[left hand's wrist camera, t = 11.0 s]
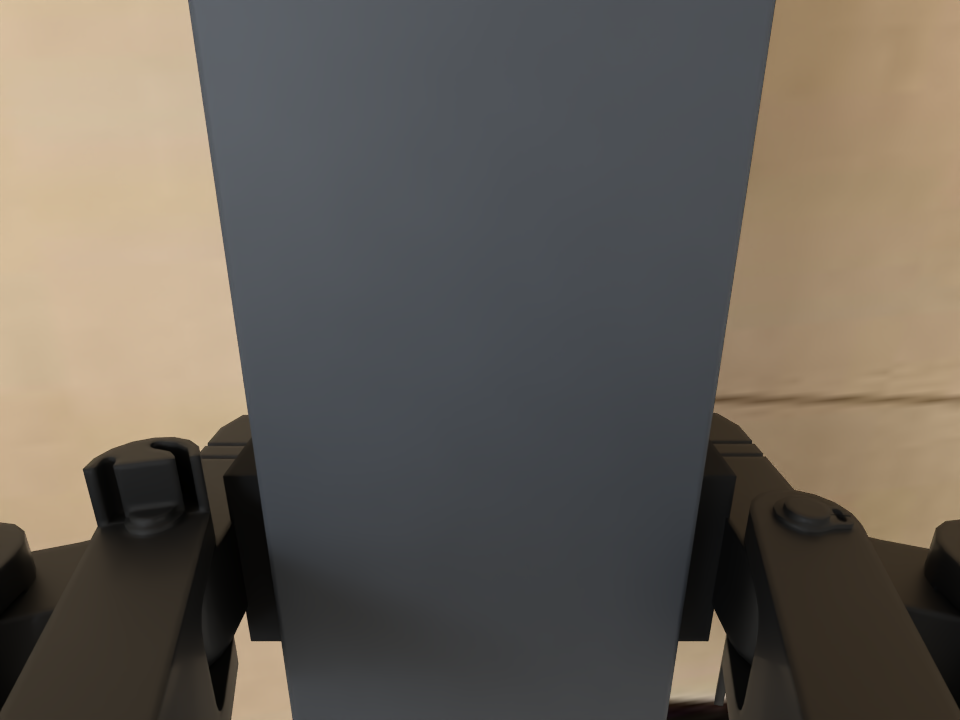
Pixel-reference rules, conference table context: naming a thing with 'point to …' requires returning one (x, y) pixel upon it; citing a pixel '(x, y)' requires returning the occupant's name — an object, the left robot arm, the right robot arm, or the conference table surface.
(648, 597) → the bar
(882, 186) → the conference table surface
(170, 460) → the left robot arm
